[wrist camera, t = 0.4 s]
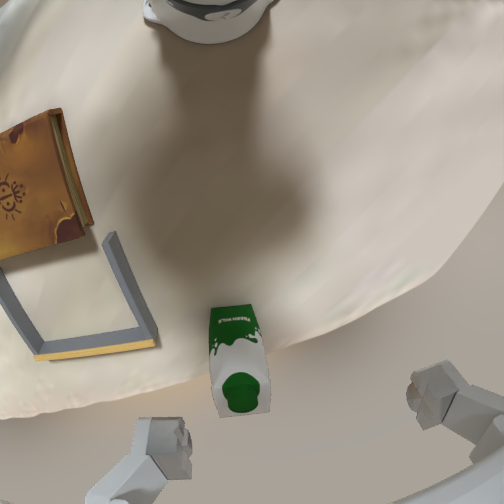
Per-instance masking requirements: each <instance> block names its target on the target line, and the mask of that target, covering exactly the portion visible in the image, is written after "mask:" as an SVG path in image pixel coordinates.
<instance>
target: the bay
mask: <svg viewBox="0 0 504 504" xmlns="http://www.w3.org/2000/svg"><path fill="white" fill-rule="evenodd" d="M102 247H103V249H104V251H105V254H106V256H107V259H108V261H109V263H110V265H111V268H112V270H113V272H114V274H115V277H116V279H117V281H118V283H119V285H120V288H121V290H122V292H123V294H124V296H125V298H126V300H127V302H128V304H129V306H130V308H131V310H132V312H133V314H134V316H135V318H136V320H137V322H138V324H139V326H140V327H137V328H131V329H125V330H119V331H113V332H107V333H101V334H95V335H89V336H82V337H76V338H69V339H62V340H55V341H47V342H44V341H43V339H42V338H41V336H40V335H39V333H38V332H37V330H36V329H35V327H34V325H33V324H32V322H31V321H30V319H29V318H28V316H27V314H26V313H25V311H24V309H23V308H22V306H21V304H20V303H19V301H18V299H17V297H16V296H15V294H14V292H13V290H12V289H11V287H10V285H9V283H8V281H7V279H6V277H5V276H4V274H3V272H2V270H1V268H0V304H1V306H2V307H3V309H4V311H5V312H6V314H7V315H8V317H9V319H10V320H11V322H12V323H13V325H14V326H15V328H16V329H17V331H18V332H19V334H20V335H21V337H22V338H23V340H24V341H25V343H26V344H27V346H28V347H29V348H30V350H31V351H32V353H33V354H34V359H35V360H36V361H44V360H55V359H65V358H74V357H82V356H91V355H98V354H106V353H113V352H120V351H127V350H134V349H141V348H147V347H153V346H155V344H156V338H157V331H158V328H157V326H156V324H155V322H154V320H153V318H152V315H151V313H150V311H149V309H148V307H147V305H146V303H145V300H144V298H143V296H142V294H141V292H140V289H139V287H138V285H137V282H136V280H135V278H134V276H133V273H132V271H131V268H130V266H129V264H128V261H127V259H126V256H125V254H124V251H123V249H122V246H121V244H120V241H119V239H118V236H117V234H116V231H114V232H110V233H108V235H107V237H106V238H105V240H104V241H103V243H102Z"/></svg>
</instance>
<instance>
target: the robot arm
mask: <svg viewBox="0 0 504 504" xmlns="http://www.w3.org/2000/svg"><path fill="white" fill-rule="evenodd" d="M273 1H274V0H143V16H144V18H145V19H146V20H148V21H150V22H154V23H158V24H162V25H164V26H166V27H167V28H169V29H170V30H171V31H172V32H174V33H175V34H176V35H178V36H180V37H182V38H184V39H186V40H189V41H192V42H196V43H202V44H217V43H223V42H227V41H231V40H233V39H236V38H238V37H240V36H242V35H244V34H245V33H247V32H248V31H249V30H251V29H252V28H253V27H254V26H255V25H256V24H257V22H258V21H259V20H260V18H261V16H262V14H263V12H264V10H265V9H266V7H267V6H268V5H269V4H270V3H271V2H273ZM150 5H151V7H149V6H150ZM410 379H411V381H412V383H411V384H410V385H409V387H408V389H407V392H406V397H407V402H408V405H409V407H410V408H411V410H413V411H415V412H417V416H416V419H417V420H418V422H419V424H420V426H421V427H422V429H423V430H426V429H428V428H431V427H434V426H436V425H438V424H441V423H442V425H444V426H445V427H447V428H449V429H450V430H452V431H454V432H455V433H457V434H459V435H461V436H462V437H464V438H465V439H467V440H469V441H470V442H472V443H474V444H475V445H476V446H475V448H474V449H473V450H472V452H471V453H470V456H469V458H470V459H471V461H472V463H473V465H471V466H469V467H467V468H466V469H464V470H462V471H460V472H458V473H456V474H455V475H453V476H451V477H449V478H447V479H445V480H443V481H441V482H439V483H436V484H435V485H432V486H430V487H428V488H426V489H424V490H421V491H419V492H417V493H414V494H412V495H409V496H407V497H405V498H402V499H399V500H397V501H394V502H392V503H389V504H504V397H503V396H500V395H498V394H495V393H493V392H490V391H487V390H485V389H482V388H480V387H477V386H475V385H471V386H470V385H469V384H468V383H467V381H466V380H465V379H464V378H463V377H462V375H461V374H460V373H459V372H458V370H457V369H456V368H455V367H454V365H453V364H452V363H451V362H450V361H449V360H444V361H442V362H439V363H436V364H433V365H430V366H428V367H425V368H422V369H419V370H417V371H414V372H413V373H412V375H411V378H410ZM184 424H185V422H184V420H183V418H182V417H139V418H138V420H137V422H136V427H135V433H134V438H133V442H132V448H131V453H130V455H125V456H124V457H123V458H122V460H120V461H119V462H118V464H116V466H115V467H114V468H112V470H110V471H109V472H108V473H107V474H106V475H105V476H104V477H103V478H102V479H101V480H100V481H99V482H98V483H97V484H96V485H95V486H94V487H93V488H92V489H91V490H90V491H89V492H88V493H87V494H86V499H85V503H84V504H152V503H153V502H154V501H155V499H156V498H157V496H158V495H159V494H160V492H161V491H162V489H163V488H164V487H165V485H166V484H167V482H168V480H184V479H191V477H192V475H191V474H192V463H191V461H190V460H189V457H190V456H191V454H192V440H191V436H190V433H189V431H188V430H187V429H186V428H184V426H185V425H184ZM0 504H12V503H10V502H7V501H4V500H0Z"/></svg>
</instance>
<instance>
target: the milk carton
mask: <svg viewBox="0 0 504 504" xmlns="http://www.w3.org/2000/svg"><path fill="white" fill-rule="evenodd" d="M209 361H210V377H211V383H212V387H213V388H212V387H211V390H212V395H213V399H214V402H215V405H216V408H217V410H218V412H219V416H220V418H221V417H232V416H242V415H250V414H258V413H266V412H270V401H271V386H270V382H269V371H268V364H267V360H266V355H265V350H264V346H263V341H262V337H261V332H260V329H259V326H258V323H257V320H256V317H255V314H254V312H253V309H252V306H251V304H249V305H240V306H231V307H221V308H212V309H211V317H210V326H209Z"/></svg>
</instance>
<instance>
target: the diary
mask: <svg viewBox="0 0 504 504" xmlns="http://www.w3.org/2000/svg"><path fill="white" fill-rule="evenodd" d="M93 223H94V221H93V218H92V216H91V213H90V210H89V207H88V204H87V200H86V197H85V194H84V191H83V188H82V184H81V181H80V178H79V174H78V171H77V167H76V164H75V160H74V157H73V153H72V149H71V145H70V141H69V137H68V133H67V129H66V125H65V120H64V116H63V111H62V109H61V108H56V109H50V110H47V111H45V112H43V113H41V114H38V115H36V116H34V117H32V118H30V119H28V120H26V121H24V122H22V123H20V124H18V125H16V126H14V127H12V128H10V129H8V130H6V131H4V132H3V133H1V134H0V260H2V259H5V258H8V257H12V256H15V255H18V254H22V253H25V252H29V251H32V250H36V249H40V248H43V247H47V246H50V245H54V244H58V243H62V242H65V241H69V240H73V239H77V238H81V237H83V236H84V235H85V233H84V230H83V227H84V226H87V225H91V224H93Z"/></svg>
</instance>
